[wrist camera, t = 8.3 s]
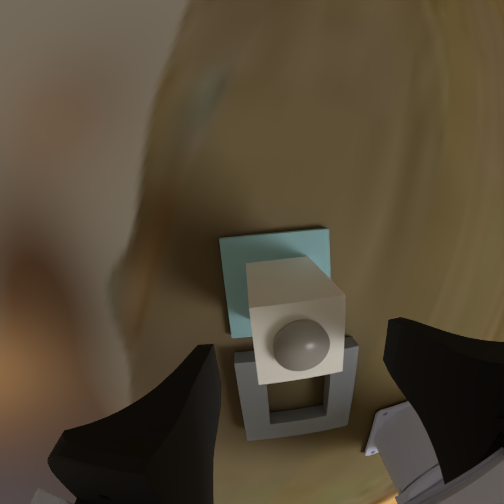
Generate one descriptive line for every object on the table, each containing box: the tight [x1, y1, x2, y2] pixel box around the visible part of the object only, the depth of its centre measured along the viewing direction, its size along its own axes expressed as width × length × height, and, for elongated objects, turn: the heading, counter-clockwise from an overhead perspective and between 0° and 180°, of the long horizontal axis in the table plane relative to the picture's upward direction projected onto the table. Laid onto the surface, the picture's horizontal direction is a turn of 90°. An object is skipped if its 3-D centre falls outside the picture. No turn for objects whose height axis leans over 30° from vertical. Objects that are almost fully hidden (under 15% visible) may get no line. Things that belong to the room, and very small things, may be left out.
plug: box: [246, 256, 346, 385], centre depth 15 cm, size 4×4×7 cm
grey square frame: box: [234, 336, 359, 441], centre depth 20 cm, size 9×9×2 cm
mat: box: [219, 228, 330, 338], centre depth 19 cm, size 7×7×1 cm
